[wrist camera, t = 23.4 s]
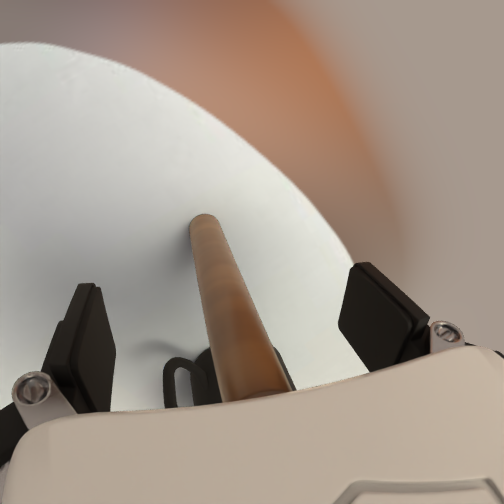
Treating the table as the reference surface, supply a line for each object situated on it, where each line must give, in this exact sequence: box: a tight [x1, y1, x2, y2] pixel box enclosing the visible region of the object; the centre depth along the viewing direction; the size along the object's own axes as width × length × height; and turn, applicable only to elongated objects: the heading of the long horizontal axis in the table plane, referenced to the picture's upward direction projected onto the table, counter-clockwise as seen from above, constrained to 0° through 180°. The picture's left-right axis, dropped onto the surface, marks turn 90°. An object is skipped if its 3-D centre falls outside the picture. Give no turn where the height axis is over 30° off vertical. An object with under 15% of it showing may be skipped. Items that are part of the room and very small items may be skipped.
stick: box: [189, 214, 292, 403], centre depth 14 cm, size 2×2×14 cm
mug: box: [163, 347, 297, 409], centre depth 21 cm, size 8×12×10 cm
